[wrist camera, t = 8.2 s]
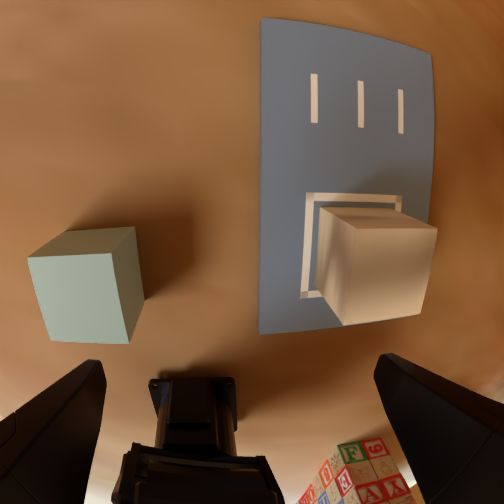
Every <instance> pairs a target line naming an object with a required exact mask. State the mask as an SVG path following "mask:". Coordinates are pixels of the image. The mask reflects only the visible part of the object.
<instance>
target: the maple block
mask: <svg viewBox="0 0 504 504" xmlns="http://www.w3.org/2000/svg"><path fill="white" fill-rule="evenodd" d="M437 231H438V228H435V227H433V226H431V225H429V224H426V223H424V222H422V221H419V220H417V219H415V218H412V217H410V216H408V215H405V214H403V213H400V212H398V211H395V210H393V209H391V208H358V207H320V214H319V230H318V244H317V257H316V269H315V280H314V285H315V286H316V288H317V289H318V291H319V292H320V293H321V295H322V296H323V297H324V299H325V300H326V302H327V303H328V304H329V306H330V307H331V309H332V310H333V311H334V313H335V314H336V316H337V317H338V318H339V320H340V321H341V323H342V324H343V325H351V324H359V323H366V322H373V321H380V320H386V319H393V318H399V317H405V316H411V315H417V314H420V312H421V308H422V304H423V301H424V297H425V292H426V288H427V284H428V279H429V275H430V270H431V265H432V260H433V255H434V249H435V244H436V238H437Z"/></svg>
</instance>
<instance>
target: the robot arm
mask: <svg viewBox="0 0 504 504" xmlns="http://www.w3.org/2000/svg"><path fill="white" fill-rule="evenodd" d="M374 381H375V383H376V386H377V389H378V392H379V395H380V398H381V401H382V404H383V407H384V410H385V412H386V415H387V417H388V419H389V421H390V424H391V426H392V428H393V430H394V432H395V434H396V437H397V439H398V441H399V443H400V445H401V448H402V450H403V452H404V454H405V457H406V459H407V461H408V464H409V466H410V468H411V470H412V473H413V475H414V477H415V480H416V482H417V485H418V487H419V489H420V492H421V494H422V497H423V499H424V502H425V504H504V404H503V403H500V402H497V401H495V400H492V399H489V398H487V397H485V396H482V395H480V394H478V393H476V392H474V391H470V390H469V389H467V388H465V387H463V386H460V385H458V384H456V383H454V382H452V381H450V380H448V379H445V378H443V377H441V376H439V375H437V374H435V373H433V372H431V371H429V370H427V369H424V368H422V367H420V366H418V365H416V364H414V363H412V362H410V361H408V360H406V359H404V358H402V357H400V356H398V355H395V354H393V353H385V354H382V355H380V357H379V359H378V362H377V365H376V368H375V371H374ZM227 383H231V384H227ZM154 385H157V386H154ZM106 387H107V382H106V377H105V374H104V370H103V366H102V363H101V361H99V360H94V359H88V360H86V361H85V362H83V363H82V364H80V365H79V366H78V367H76V368H75V369H73V370H72V371H70V372H69V373H68V374H66V375H65V376H63V377H62V378H61V379H59V380H58V381H56V382H55V383H54V384H52V385H51V386H49V387H48V388H47V389H45V390H44V391H42V392H41V393H40V394H38V395H37V396H35V397H34V398H33V399H31V400H30V401H28V402H27V403H26V404H24V405H23V406H21V407H20V408H19V409H17V410H16V411H15V413H14V412H13V413H12V414H10V415H9V416H7V417H6V418H5V419H3V420H2V421H0V504H84V500H85V494H86V489H87V484H88V479H89V474H90V470H91V465H92V461H93V456H94V452H95V448H96V444H97V440H98V436H99V432H100V427H101V421H102V414H103V407H104V400H105V393H106ZM148 387H149V391H150V394H151V398H152V401H153V404H154V408H155V411H156V414H157V417H158V422H157V431H156V439H155V447H149V446H144V445H141V444H140V443H135V442H133V443H132V447H131V451H128V453H126V454H124V455H123V460H122V466H121V471H120V475H119V477H118V480H117V482H116V485H115V487H114V490H113V492H112V496H111V502H112V503H113V504H285V501H284V497H283V495H282V492H281V490H280V488H279V486H278V484H277V481H276V479H275V477H274V475H273V473H272V471H271V469H270V466H269V464H268V462H267V460H266V458H265V456H256V457H243V456H237V452H236V444H235V436H234V432H235V431H237V411H236V388H235V380H234V379H233V378H231V377H220V378H193V379H151V380H150V381H149V385H148Z"/></svg>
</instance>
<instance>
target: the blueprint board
mask: <svg viewBox="0 0 504 504" xmlns="http://www.w3.org/2000/svg"><path fill="white" fill-rule="evenodd" d="M433 158H434V88H433V72H432V60H431V54H429V53H427V52H424V51H421V50H418V49H415V48H413V47H410V46H407V45H403V44H400V43H397V42H394V41H390V40H387V39H383V38H380V37H376V36H372V35H368V34H364V33H360V32H356V31H351V30H347V29H342V28H337V27H332V26H326V25H320V24H314V23H308V22H300V21H292V20H283V19H272V18H262V19H261V22H260V183H259V278H258V331H259V335H267V334H279V333H290V332H301V331H310V330H319V329H328V328H336V327H344V326H352V325H359V324H366V323H373V322H379V321H373V322H366V323H359V324H351V325H343V324H342V323H341V321H340V320H339V318H338V317H337V316H336V314H335V313H334V311H333V310H332V309H331V307H330V306H329V304H328V303H327V302H326V300H325V299H324V297H323V296H322V295H321V293H320V292H319V291H318V289H317V288H316V286H315V285H314V280H315V269H316V257H317V244H318V230H319V214H320V207H358V208H391V209H393V210H395V211H398V212H400V213H403V214H405V215H408V216H410V217H412V218H415V219H417V220H419V221H422V222H424V223H426V224H427V223H428V216H429V207H430V198H431V187H432V175H433ZM405 317H409V316H405ZM399 318H404V317H399ZM393 319H398V318H393ZM386 320H392V319H386ZM386 320H380V321H386Z"/></svg>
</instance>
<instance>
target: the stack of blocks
mask: <svg viewBox="0 0 504 504" xmlns="http://www.w3.org/2000/svg"><path fill="white" fill-rule="evenodd" d="M296 504H416V502H415V500H414V498H413V496H412V495H411V491H410V489H409V487H408V485H407V483H406V481H405V479H404V478H403V476H402V474H400V472H399V470H398V468H397V466H396V465H395V463H394V461H393V459H392V457H391V456H390V453H389V451H388V449H387V448H386V446H385V444H384V442H383V440H382V439H381V438H378V439H373V440H367V441H361V442H357V443H350V444H343V445H337V446H336V447H335V449H334V451H333V452H332V454H331V455H330V457H329V458H328V459H327V460H326V462H325V463H324V465H323V466H322V468H321V469H320V471H319V472H318V474H317V475H316V476H315V478H314V479H313V481H312V482H311V484H310V486H309V487H308V489H307V490H306V492H305V493H304V495H303V496H302V497H301V499H300V501H298V502H297V503H296Z"/></svg>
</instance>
